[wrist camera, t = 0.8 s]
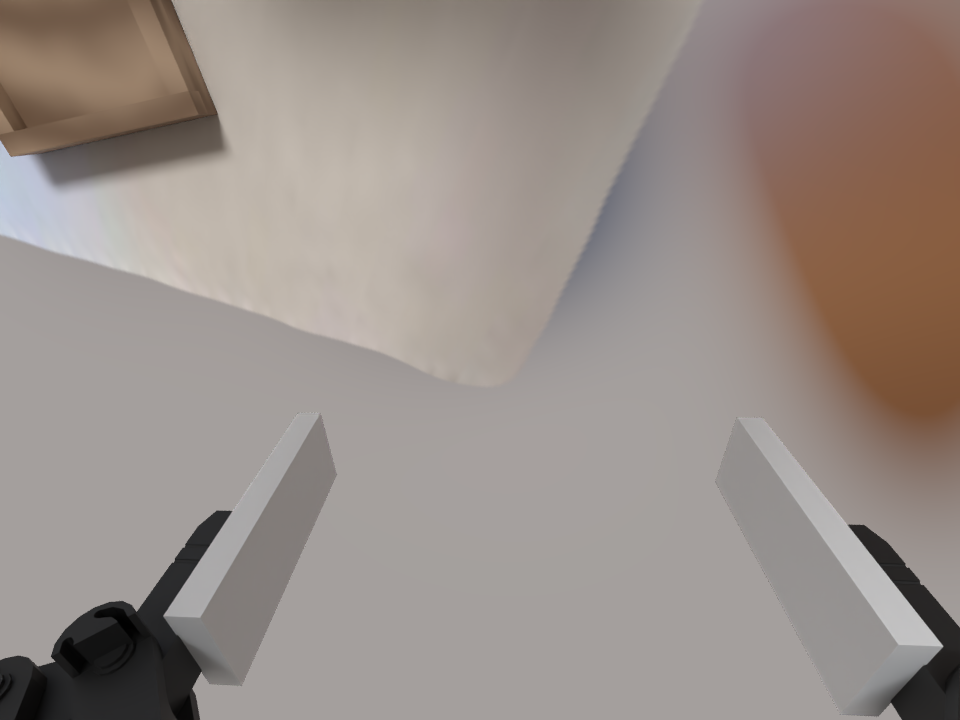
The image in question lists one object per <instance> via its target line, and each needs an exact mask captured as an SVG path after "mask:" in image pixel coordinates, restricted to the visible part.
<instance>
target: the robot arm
mask: <svg viewBox="0 0 960 720" xmlns="http://www.w3.org/2000/svg"><path fill="white" fill-rule="evenodd" d="M336 475H337V474H336V470H335V466H334V462H333V458H332V455H331V451H330V447H329V443H328V439H327V436H326V432H325V428H324V424H323V420H322V416H321V413H297V415H296V416H295V418H294V419H293V421H292V422H291V424H290V425H289V427H288V428H287V430H286V431H285V433H284V434H283V436H282V437H281V439H280V440H279V442H278V443H277V445H276V446H275V448H274V449H273V451H272V452H271V454H270V455H269V457H268V458H267V460H266V462H265V463H264V464H263V466H262V468H261V469H260V471H259V472H258V474H257V475H256V477H255V478H254V480H253V481H252V483H251V484H250V486H249V487H248V489H247V490H246V492H245V493H244V495H243V496H242V498H241V499H240V501H239V502H238V504H237V505H236V507H235V508H234V510H233V511H216V512H215V513H213V514H212V515H211V516H210V517H209V518H207V519H206V520H205V521H204V522H203V523H202V524H200V525H199V526H198V527H197V529H196V530H195V532H194V533H193V534H192V536H191V537H190V538H189V540H188V541H187V543H186V544H185V545H186V546H185V548H182V550H181V551H180V552H179V554H178V555H177V557H176V558H175V562H174V563H172V564H171V565H170V566H169V568H168V569H167V571H166V572H165V573H164V575H163V576H162V577H161V579H160V580H159V582H158V583H157V584H156V586H155V587H154V589H153V590H152V591H151V593H150V594H149V596H148V597H147V598H146V600H145V601H144V603H143V604H142V605H141V607H140V608H139V610H138V611H137V612H136V611H135V609H134V608H133V607H132V605H130V604H128V603H126V602H123V601H118V602H109V603H106V604H103V605H100V606H98V607H95V608H93V609H91V610H90V611H88V612H87V613H85V614H83V615H82V616H80V617H79V618H77V619H76V620H75V621H74V622H73V623H72V624H71V625H70V626H69V627H68V628H67V629H65V631H64V632H63V633H62V635H61V636H60V638H59V639H58V640H57V642H56V643H55V645H54V648H53V652H52V655H51V657H52V658H53V659H54V660H55V661H56V662H53V663H50V664H46V665H42V666H39V667H38V666H36V665H35V663H33V662H32V661H31V660H30V659H29V658H27V657H22V656H14V657H10V658H5V659H2V660H0V720H200V717H199V711H198V706H197V700H196V695H195V693H194V691H193V689H192V688H193V686H194V684H195V682H196V680H197V678H198V677H199V675H200V673H201V672H202V674H203V675H204V676H205V678H206V679H207V681H208V682H209V684H217V685H237V686H239V685H240V686H242V684H243V682H244V680H245V678H246V675H247V673H248V671H249V669H250V666H251V664H252V662H253V660H254V657H255V655H256V653H257V651H258V649H259V646H260V644H261V642H262V640H263V638H264V635H265V633H266V631H267V628H268V626H269V624H270V622H271V620H272V617H273V615H274V613H275V611H276V609H277V606H278V604H279V602H280V600H281V598H282V595H283V593H284V591H285V588H286V586H287V584H288V582H289V580H290V577H291V575H292V573H293V571H294V569H295V566H296V564H297V562H298V560H299V558H300V555H301V553H302V551H303V549H304V546H305V544H306V542H307V540H308V537H309V535H310V533H311V531H312V528H313V526H314V524H315V522H316V520H317V517H318V515H319V513H320V511H321V508H322V506H323V504H324V502H325V500H326V498H327V495H328V493H329V491H330V489H331V486H332V484H333V482H334V480H335V477H336ZM715 482H716V484H717V486H718V488H719V489H720V491H721V493H722V495H723V497H724V499H725V501H726V502H727V505H728V506H729V508H730V510H731V512H732V514H733V516H734V518H735V520H736V521H737V523H738V525H739V527H740V529H741V531H742V532H743V534H744V536H745V538H746V540H747V542H748V544H749V545H750V547H751V549H752V551H753V553H754V555H755V557H756V559H757V560H758V562H759V564H760V566H761V568H762V570H763V572H764V574H765V575H766V577H767V579H768V581H769V583H770V585H771V587H772V588H773V590H774V592H775V594H776V596H777V598H778V600H779V601H780V603H781V605H782V607H783V609H784V611H785V613H786V615H787V616H788V618H789V620H790V622H791V624H792V626H793V628H794V629H795V631H796V633H797V635H798V637H799V639H800V641H801V642H802V644H803V646H804V648H805V650H806V652H807V654H808V656H809V657H810V659H811V661H812V663H813V665H814V667H815V669H816V670H817V672H818V674H819V676H820V678H821V680H822V682H823V683H824V685H825V687H826V689H827V691H828V693H829V695H830V697H831V698H832V700H833V702H834V704H835V706H836V708H837V710H838V711H839V713H840V715H860V716H879V715H880V714H881V713H882V712H883V711H884V709H886V707H887V706H888V705H889V704H890V703H892V705H893V706H894V708H895V709H896V711H897V712H898V714H899V716H900V717H901V719H902V720H960V627H959V626H958V625H957V624H956V623H955V622H954V620H953V619H952V618H951V617H950V616H949V614H948V613H947V612H946V611H945V610H944V609H943V607H942V606H941V605H940V604H939V603H938V601H937V600H936V599H935V598H934V597H933V596H932V594H931V593H930V592H929V591H928V590H927V589H926V587H925V586H924V585H921V584H920V580H919V579H918V578H917V577H916V576H915V574H914V573H913V572H912V571H911V570H910V568H907V567H906V566H905V563H904V562H903V560H902V559H901V558H900V557H899V556H898V554H897V553H896V552H895V551H894V550H893V548H892V547H891V546H890V545H889V544H888V543H887V542H886V541H884V540H883V539H882V538H881V537H879V536H878V535H877V534H875V533H874V532H872V531H871V530H870V529H869V528H867V527H866V526H865V525H847V524H846V523H845V521H844V520H843V519H842V518H841V516H840V515H839V514H838V512H837V511H836V510H835V509H834V507H833V506H832V505H831V504H830V502H829V501H828V500H827V499H826V497H825V496H824V495H823V493H821V491H820V490H819V489H818V487H817V486H816V485H815V483H814V482H813V481H812V480H811V478H810V477H809V476H808V474H807V473H806V472H805V471H804V470H803V468H802V467H801V466H800V464H799V463H798V462H797V461H796V459H795V458H794V457H793V455H792V454H791V453H790V452H789V450H788V449H787V448H786V447H785V446H784V444H783V443H782V442H781V440H780V439H779V438H778V437H777V435H776V434H775V433H774V431H773V430H772V429H771V428H770V426H769V425H768V424H767V423H766V421H765V420H764V419H763V418H762V417H760V418H759V417H737V418H736V421H735V424H734V427H733V430H732V433H731V436H730V439H729V442H728V445H727V448H726V451H725V454H724V457H723V460H722V463H721V466H720V469H719V472H718V475H717V478H716V481H715Z"/></svg>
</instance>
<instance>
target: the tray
mask: <svg viewBox="0 0 960 720" xmlns="http://www.w3.org/2000/svg"><path fill="white" fill-rule="evenodd" d="M216 114H217V112H216V109H215V107H214V104H213V102H212V99H211V97H210V94H209V92H208V90H207V87H206V85H205V82H204V80H203V77H202V75H201V72H200V70H199V68H198V65H197V63H196V60H195V58H194V55H193V53H192V51H191V48H190V46H189V43H188V41H187V38H186V36H185V33H184V31H183V29H182V26H181V24H180V21H179V19H178V16H177V14H176V11H175V9H174V7H173V4H172V2H171V0H0V140H1V142H2V144H3V145H4V147H5V148H6V150H7V151H8V153H9V155H10V156H11V157H13V156H22V155H32V154H40V153H45V152H49V151H54V150H58V149H63V148H67V147H72V146H76V145H81V144H85V143H90V142H94V141H99V140H103V139H108V138H112V137H117V136H121V135H126V134H130V133H135V132H139V131H144V130H148V129H153V128H157V127H162V126H166V125H171V124H175V123H180V122H184V121H189V120H193V119H198V118H202V117H207V116H211V115H216Z"/></svg>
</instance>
